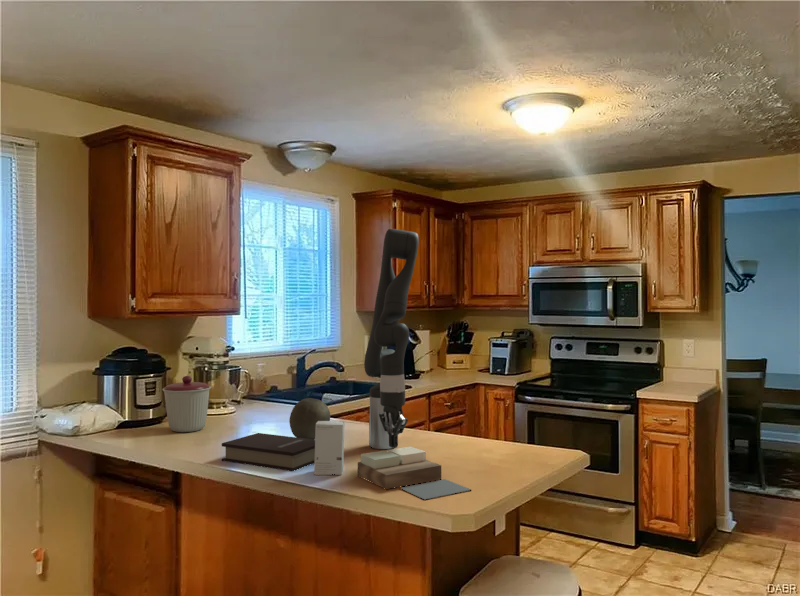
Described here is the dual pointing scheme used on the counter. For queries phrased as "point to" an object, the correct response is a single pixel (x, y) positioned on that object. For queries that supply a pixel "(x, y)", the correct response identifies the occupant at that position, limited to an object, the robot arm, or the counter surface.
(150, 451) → the counter surface
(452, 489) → the grey mat
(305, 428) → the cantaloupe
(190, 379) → the canister
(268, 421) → the counter surface
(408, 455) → the cream tile
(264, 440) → the book
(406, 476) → the walnut board
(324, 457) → the skincare box
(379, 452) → the sage tile
